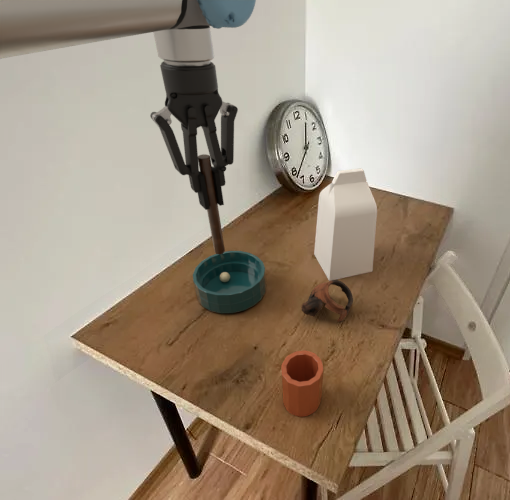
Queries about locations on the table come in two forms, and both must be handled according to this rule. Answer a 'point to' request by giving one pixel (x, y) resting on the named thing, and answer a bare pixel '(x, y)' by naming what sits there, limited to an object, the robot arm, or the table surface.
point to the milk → (346, 226)
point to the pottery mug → (327, 300)
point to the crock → (302, 382)
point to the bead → (224, 277)
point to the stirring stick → (212, 204)
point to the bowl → (230, 281)
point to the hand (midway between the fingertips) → (211, 204)
